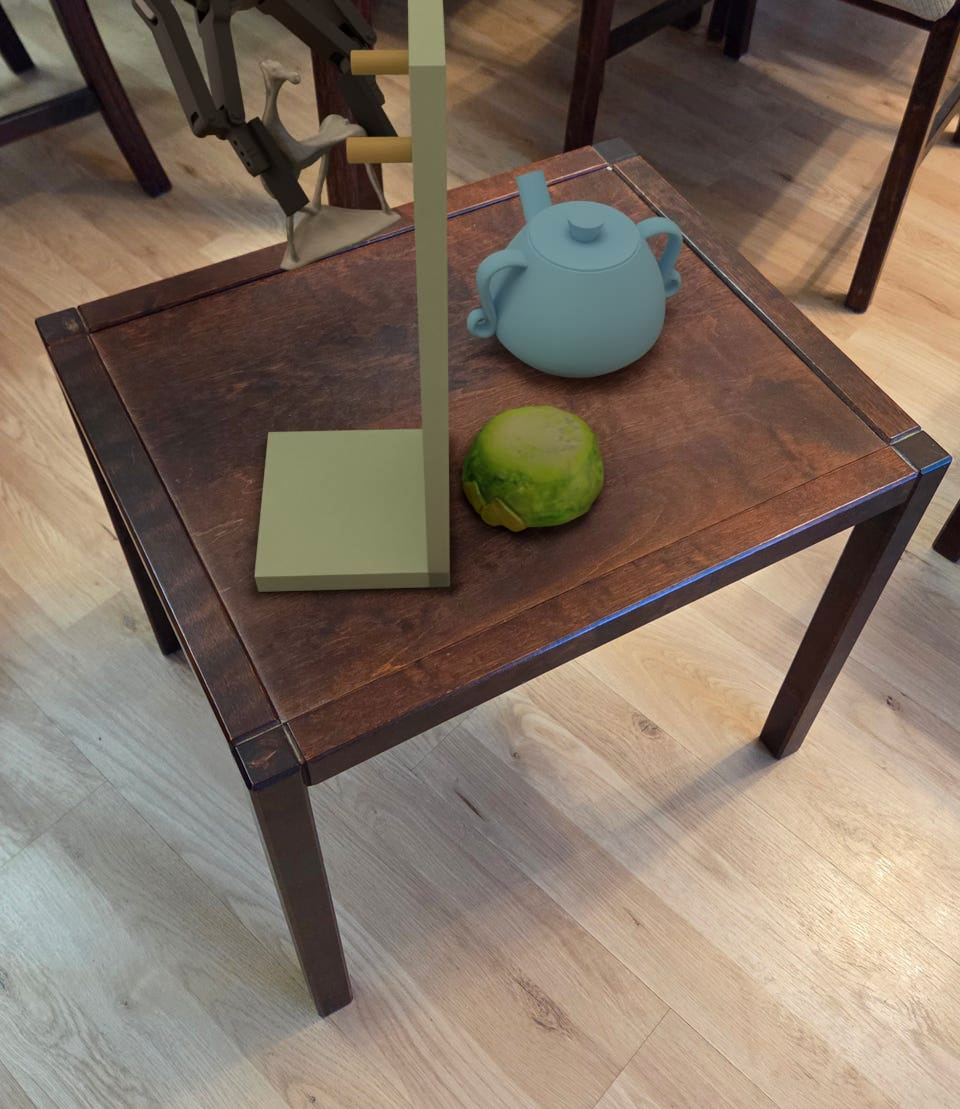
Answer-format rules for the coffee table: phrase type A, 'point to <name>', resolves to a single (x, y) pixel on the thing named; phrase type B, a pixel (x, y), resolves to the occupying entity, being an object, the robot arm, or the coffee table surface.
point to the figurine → (319, 182)
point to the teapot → (576, 285)
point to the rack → (378, 455)
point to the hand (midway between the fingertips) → (346, 181)
